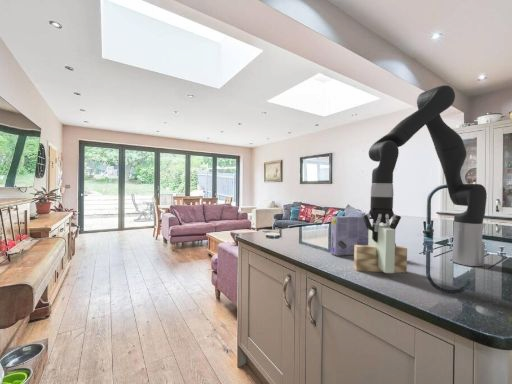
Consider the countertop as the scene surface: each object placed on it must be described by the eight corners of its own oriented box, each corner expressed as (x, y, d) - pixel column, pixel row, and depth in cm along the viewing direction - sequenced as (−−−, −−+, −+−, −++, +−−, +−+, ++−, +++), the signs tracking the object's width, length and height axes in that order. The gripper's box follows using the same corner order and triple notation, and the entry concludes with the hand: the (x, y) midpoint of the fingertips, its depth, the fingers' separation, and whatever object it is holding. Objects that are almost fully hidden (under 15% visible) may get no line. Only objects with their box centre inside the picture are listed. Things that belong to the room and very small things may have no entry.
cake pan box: (363, 251, 123) (364, 215, 123) (370, 253, 119) (371, 216, 118) (329, 253, 117) (330, 216, 117) (336, 256, 112) (337, 217, 112)
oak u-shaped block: (402, 270, 96) (403, 246, 95) (406, 272, 93) (407, 248, 92) (353, 268, 97) (354, 244, 97) (356, 270, 94) (356, 246, 94)
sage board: (375, 259, 102) (376, 223, 102) (394, 273, 87) (395, 229, 86) (367, 259, 103) (368, 222, 102) (385, 272, 87) (386, 229, 86)
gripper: (396, 195, 97) (395, 240, 98) (359, 194, 98) (357, 239, 99) (406, 196, 90) (405, 244, 90) (366, 195, 91) (364, 243, 91)
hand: (380, 241), depth 94 cm, fingers closed on sage board, 3 cm apart
